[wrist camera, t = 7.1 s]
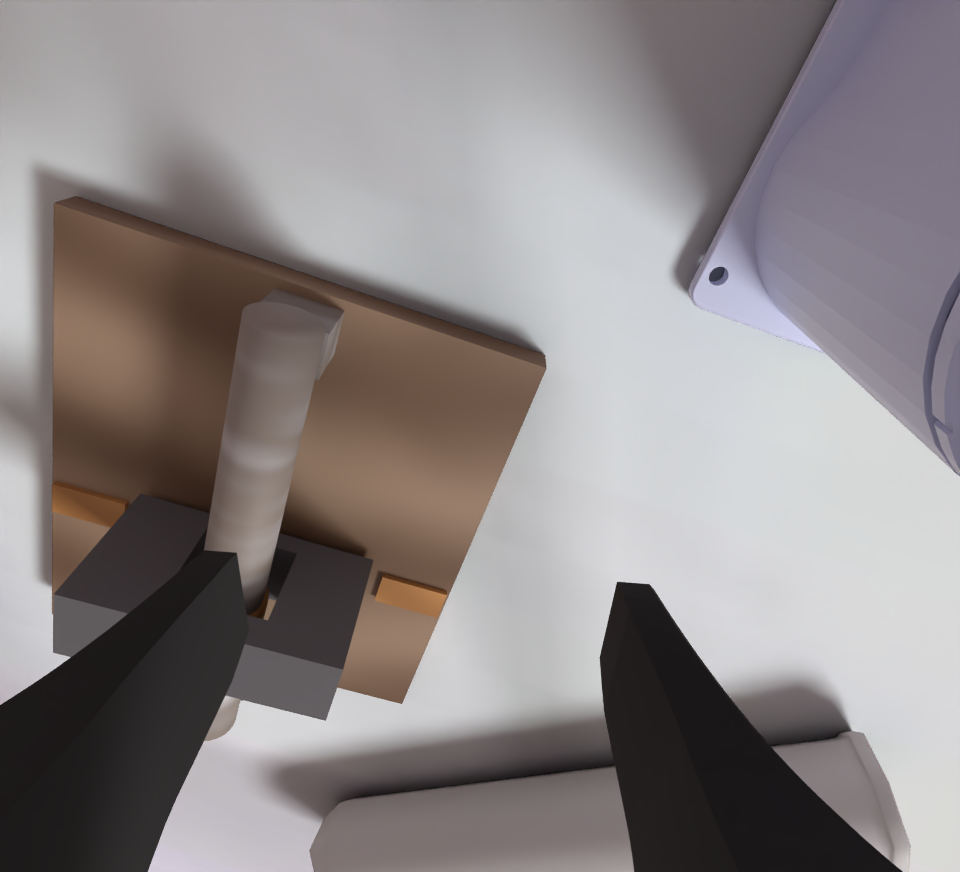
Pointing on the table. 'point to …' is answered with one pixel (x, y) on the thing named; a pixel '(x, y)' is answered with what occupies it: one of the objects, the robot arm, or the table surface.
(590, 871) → the tube
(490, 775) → the table surface
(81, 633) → the collar
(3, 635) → the table surface
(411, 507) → the rod stand
